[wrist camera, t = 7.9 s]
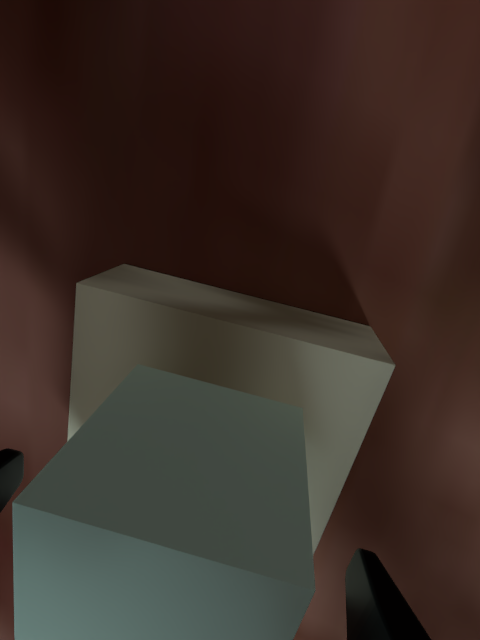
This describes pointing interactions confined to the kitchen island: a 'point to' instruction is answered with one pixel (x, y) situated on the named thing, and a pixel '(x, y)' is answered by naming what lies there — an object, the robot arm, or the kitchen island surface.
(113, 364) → the plinth
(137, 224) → the kitchen island surface
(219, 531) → the block
